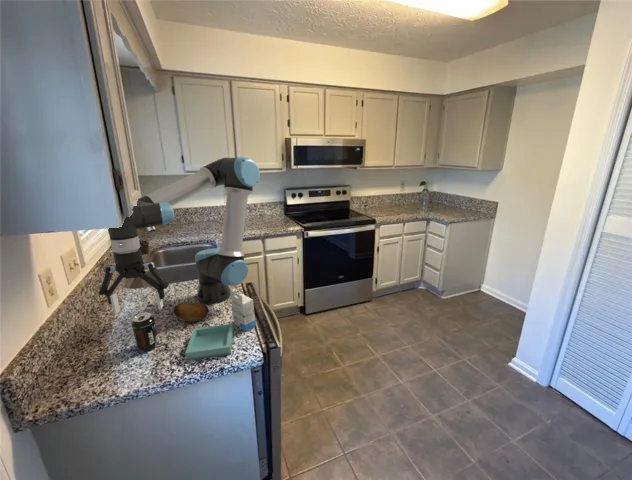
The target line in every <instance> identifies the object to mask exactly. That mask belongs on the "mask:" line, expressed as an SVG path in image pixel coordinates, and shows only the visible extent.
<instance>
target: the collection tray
mask: <svg viewBox="0 0 632 480" xmlns="http://www.w3.org/2000/svg"><path fill="white" fill-rule="evenodd" d="M234 330H235V329H234V324H233V323H228V324H227V323H226V324H221V325H213V326H206V327H205V326H204V327H198V328H193V330H192V332H191V336H190V338H189V341H188V345H187V347H186V350H185V352H184V353H185V354H184V355H185V359H186V361H187V362H188V361H189V362H190V361H194V360H202V359H210V358H216V357H222V356H229V355H232V347H233V339H234Z"/></svg>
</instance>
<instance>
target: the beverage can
mask: <svg viewBox="0 0 632 480" xmlns="http://www.w3.org/2000/svg"><path fill="white" fill-rule="evenodd" d="M131 328H132V333H133V338H134V341H135V345H136V348H137V350H138V351H142V352H148V351H150V350H151V351H152V350H153V349H154V348H156V347H157V346H158V345H159V342H160V339H159V335H158V329H157V325H156V318H155V317H154V316H153V315H152V313H151V312H141V313H139V314H136V315H134V316H133V317H132V321H131Z"/></svg>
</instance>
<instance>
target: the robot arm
mask: <svg viewBox="0 0 632 480" xmlns="http://www.w3.org/2000/svg"><path fill="white" fill-rule="evenodd" d="M260 176H261V173H260V169H259V166H258V165H257V163H256V162H255V161H254V160H253V159H252V158H249V157H243V156H239V157H221V158H218V159H216V160H215V161H212V162H210V163H208V164H206V165H204V166H202V167H200V168H199V171H197V172H194V173H192V174H190V175H188V176H186V177H184V178H181V179H179V180H177V181H175V182H172V183H170V184H167V185H165V186H163V187H161V188H159V189H157V190H154V191H152V192H151V193H148V194H146V195H144V196H141V197H139V198H137V199H138V201H137V206H133V205H132V203H131V210H132V211H133V212H132V215H131V216H130V217H126V218H125V220H124V223H123V225H122V227H119V228H109V229H108V228H107V231H108V235H109V241H110V246H111V249H112V252H114V253H113V255H112V256H113V258H114V263H115V265H113V264H109V265H108V266H106V267H105V268H104V271H105V272H104V273H105V274H104V277H103V280H102V284H101V286H100V290H99V292H98V295H100V296H103V295H104V296H106V297H107V302H108V305H111V307H112V310H113V314H114V315H118V314H119V312H120V311H121V308H120V302H119V299H118V294H117V292H115V290H116V289H117V287H119V285H120V283H121V282H122V281H123V279H124V278H125V279H126V280H128V279H137V278H139V279H140V280H143V281H145V282H146V283H147V284H148V285H150V286H151V287H153V288H154V289H155V290H156V291H155V296H156V303H157V307H158V310H162V309H163V307H164V301H163V300H164V298H165V297H166V296H165V290H166V289H167V288H168V287H169V286H170V284H169V282H168V281H167V279H166V278H165V277H164V276H163V274H162V273H161V272H160V271H159V269H158V268H157V267H156V264H155V261H153V260H152V261H150V262H148V263H147V262H146V263H144V258H143V253H142V249H141V248H140V247H141V242H140V239H139V233H138V230H143V229H147V228H153V227H159V226H166V225H168V224H171V223H173V221H174V220H175V211H174V208H173V206H175V205H176V204H179V203H181V202H184V201H185V200H187V199H188V198H191V197H193V196H195V195H197V194H199V193H201V192H203V191H205V190H206V189H207V190H208V189H214V188H216V187H220V186H223V188H224V189H225V192H226V202H225V209H224V217H223V227H222V235H221V244H220V248H219V247H216V248H215V247H213V248H207V249H203V250H200V251H198V252H197V253H196V254H195V255H194V259H195V261H194V262H195V266H196V267H195V268H196V271H197V273H196V274H197V278H198V288H197V293H196V299H197V301H198V302H197V303H200V304H204V305H213V304H218V303H222V302H224V301H226V300H228V299H229V298H231V292H230V291H232V290H231V287H236V286H239V285H240V284H242V283H243V282H244V281H245V279H246V278H247V276H248V274H249V266H248V265H249V264H247V262H246V261H245V253H244V252H243V251H242V250H243V242H244V233H245V232H244V231H245V224H246V223H245V222H246V217H247V215H246V214H247V208H248V201H249V200H248V198H249V196H250V195H251V193H253V188H254V187H255V186H256V185H257V184H259V181H260V179H261V177H260ZM145 269H147V271H149V272H150V274H151V275H150V274H149V273H148V272H147V271H146V270H145ZM115 271H116V272H117V273H118V274H119V275H117V277H116V279H115V281H114V282H113V283H112V284H111V286H110V282H111V279H112V276H113V274H114V272H115ZM109 286H110V287H109Z"/></svg>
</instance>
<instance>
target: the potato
mask: <svg viewBox="0 0 632 480" xmlns="http://www.w3.org/2000/svg"><path fill="white" fill-rule="evenodd" d="M172 311H173V314H174V315H175V317H176V318H178V319H180V320H182V321H186V322H190V323H191V322H198V321H201V320H202V319H204V318H205V317H206V316H208V315H209V312H210V309H209V307H208V306H207V304H203V303H200V302H183V303H178V304H177V305H175V306H174V308H173V309H172Z"/></svg>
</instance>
